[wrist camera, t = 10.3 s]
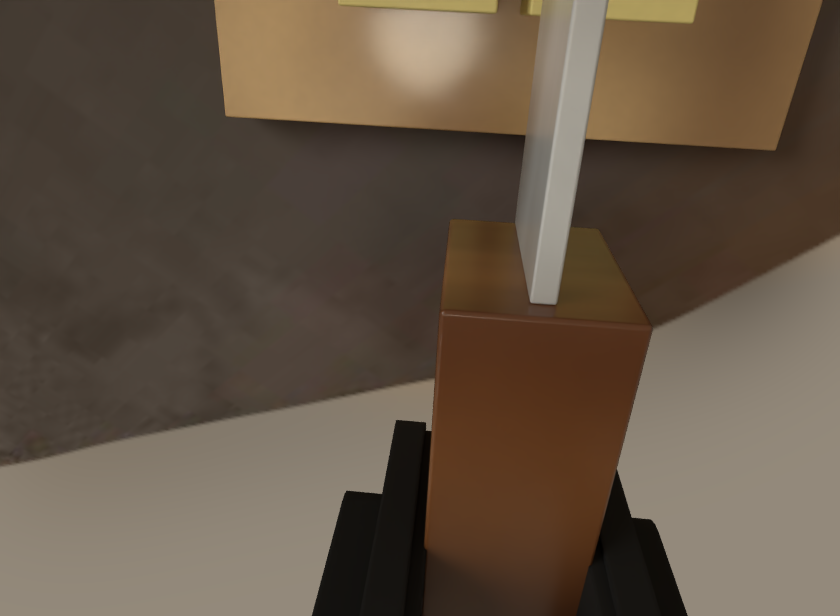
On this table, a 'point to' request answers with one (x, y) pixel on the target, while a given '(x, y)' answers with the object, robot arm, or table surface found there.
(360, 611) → the robot arm
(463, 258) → the knife
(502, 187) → the table surface
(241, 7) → the board
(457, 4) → the butter piece
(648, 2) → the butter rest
